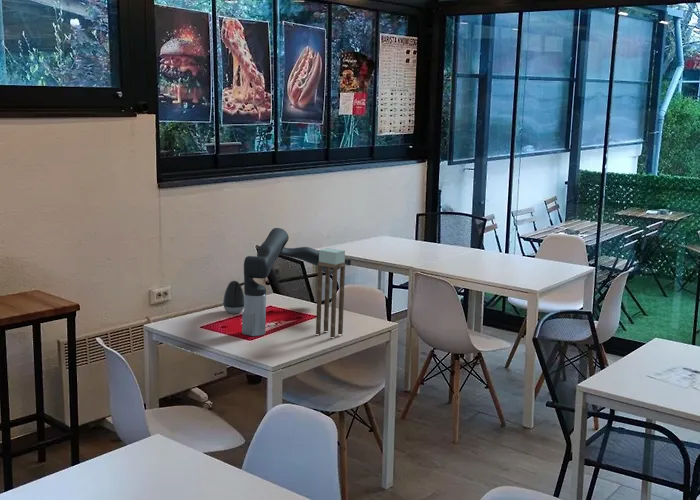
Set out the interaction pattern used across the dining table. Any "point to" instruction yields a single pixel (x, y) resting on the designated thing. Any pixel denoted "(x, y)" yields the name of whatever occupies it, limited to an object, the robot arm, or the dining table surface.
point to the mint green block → (331, 256)
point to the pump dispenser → (234, 298)
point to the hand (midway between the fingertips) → (336, 261)
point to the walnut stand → (334, 292)
